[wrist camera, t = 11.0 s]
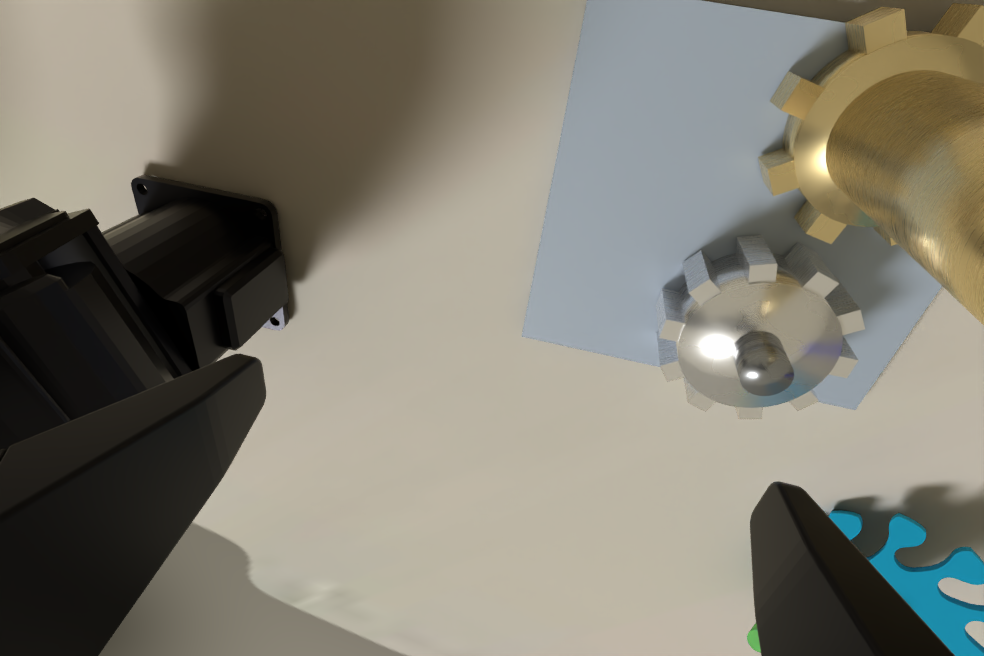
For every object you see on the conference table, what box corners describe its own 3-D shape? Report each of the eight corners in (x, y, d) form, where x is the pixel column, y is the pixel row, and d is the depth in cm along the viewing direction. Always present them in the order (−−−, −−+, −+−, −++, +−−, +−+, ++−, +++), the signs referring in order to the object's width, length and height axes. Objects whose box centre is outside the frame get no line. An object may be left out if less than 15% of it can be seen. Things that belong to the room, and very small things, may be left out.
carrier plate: (523, 328, 24) (521, 337, 23) (591, -17, 16) (590, -17, 16) (849, 400, 22) (856, 411, 22) (1083, 59, 15) (1102, 62, 14)
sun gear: (635, 360, 23) (638, 424, 19) (686, 219, 19) (699, 269, 16) (792, 394, 22) (822, 467, 19) (875, 256, 18) (930, 316, 15)
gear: (976, 497, 22) (1105, 787, 19) (967, 480, 26) (1069, 711, 23) (709, 529, 28) (776, 750, 25) (739, 511, 33) (798, 696, 30)
